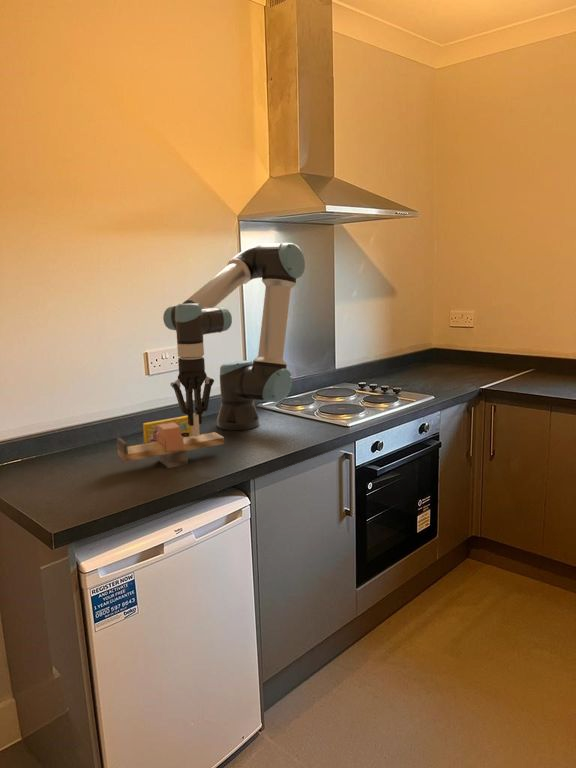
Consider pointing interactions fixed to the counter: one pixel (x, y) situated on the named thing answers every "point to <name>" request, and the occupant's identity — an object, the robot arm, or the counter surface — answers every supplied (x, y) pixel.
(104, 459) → the counter surface
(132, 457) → the beam
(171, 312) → the robot arm
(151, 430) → the candy box
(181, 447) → the block
